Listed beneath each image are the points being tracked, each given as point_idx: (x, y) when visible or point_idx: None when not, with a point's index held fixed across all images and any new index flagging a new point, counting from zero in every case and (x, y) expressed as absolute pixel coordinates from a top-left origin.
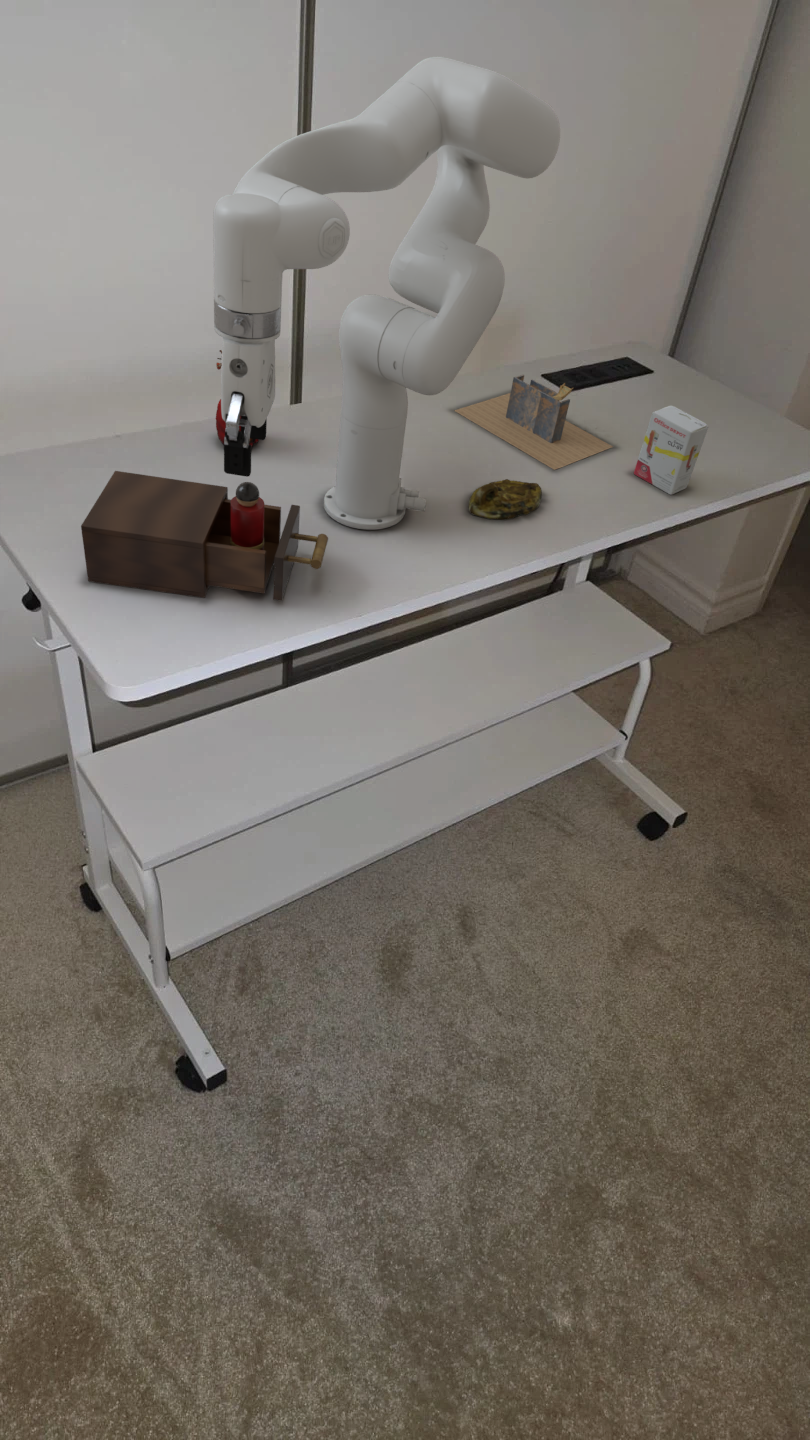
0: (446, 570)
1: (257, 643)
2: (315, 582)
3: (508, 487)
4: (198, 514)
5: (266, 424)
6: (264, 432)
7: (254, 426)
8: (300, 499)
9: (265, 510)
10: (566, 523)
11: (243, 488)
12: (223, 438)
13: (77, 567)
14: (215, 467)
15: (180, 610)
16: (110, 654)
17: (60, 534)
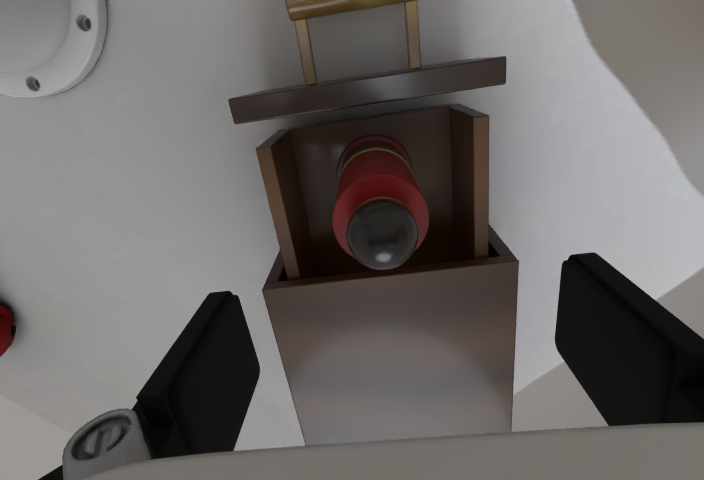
0: None
1: (596, 67)
2: (355, 12)
3: None
4: (402, 306)
5: (182, 331)
6: (221, 312)
7: (228, 368)
8: (75, 149)
9: (281, 181)
10: None
11: (404, 251)
12: (6, 344)
13: None
14: (86, 322)
15: (518, 231)
16: (648, 282)
17: None
